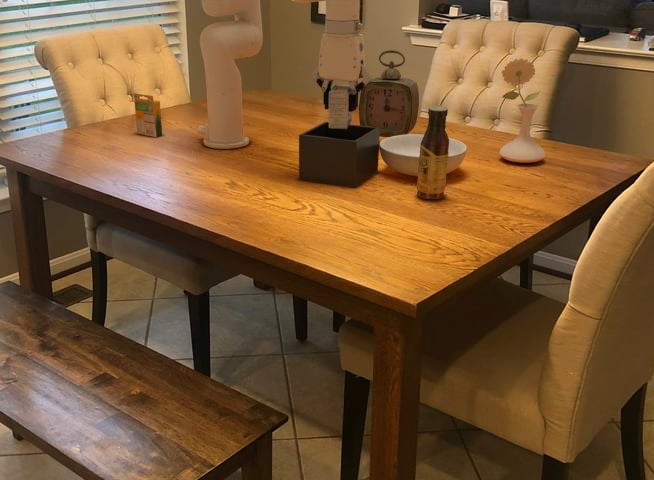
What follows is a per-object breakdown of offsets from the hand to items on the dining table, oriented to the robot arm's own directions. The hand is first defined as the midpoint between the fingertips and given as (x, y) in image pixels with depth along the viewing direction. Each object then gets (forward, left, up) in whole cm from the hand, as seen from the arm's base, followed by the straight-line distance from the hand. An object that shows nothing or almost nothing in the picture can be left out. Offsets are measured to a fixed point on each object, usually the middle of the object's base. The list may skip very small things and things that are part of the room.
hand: (340, 108), depth 190 cm
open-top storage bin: (0, 0, -16) cm, 16 cm away
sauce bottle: (+25, -6, -16) cm, 30 cm away
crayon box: (-65, +13, -16) cm, 68 cm away
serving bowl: (+17, +11, -16) cm, 26 cm away
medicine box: (0, 0, -4) cm, 4 cm away
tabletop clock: (+1, +31, -16) cm, 35 cm away
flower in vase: (+36, +32, -16) cm, 51 cm away
